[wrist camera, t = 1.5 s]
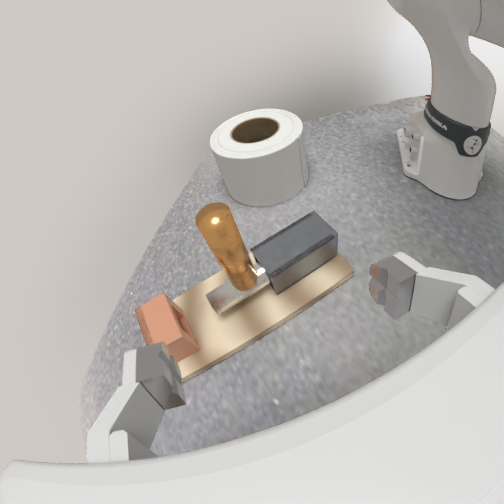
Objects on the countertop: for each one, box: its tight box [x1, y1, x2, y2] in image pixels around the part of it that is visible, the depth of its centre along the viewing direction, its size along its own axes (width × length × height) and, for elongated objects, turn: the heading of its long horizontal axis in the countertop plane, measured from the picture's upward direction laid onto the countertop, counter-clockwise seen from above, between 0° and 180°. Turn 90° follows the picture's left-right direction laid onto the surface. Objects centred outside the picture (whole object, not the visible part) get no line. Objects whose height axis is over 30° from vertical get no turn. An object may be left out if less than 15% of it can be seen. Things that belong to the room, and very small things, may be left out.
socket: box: [135, 292, 201, 362], centre depth 33 cm, size 4×7×5 cm
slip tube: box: [196, 203, 272, 315], centre depth 30 cm, size 16×3×14 cm, turn 119°
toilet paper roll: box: [210, 109, 308, 207], centre depth 46 cm, size 16×15×11 cm
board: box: [172, 252, 354, 384], centre depth 37 cm, size 27×11×2 cm, turn 119°
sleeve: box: [250, 211, 338, 295], centre depth 35 cm, size 10×5×5 cm, turn 119°
